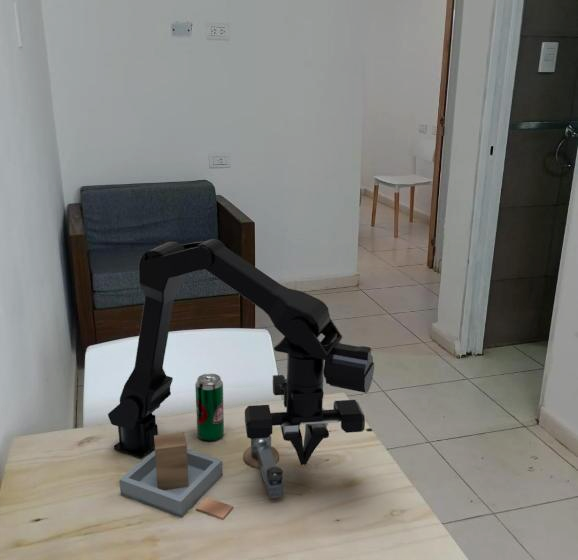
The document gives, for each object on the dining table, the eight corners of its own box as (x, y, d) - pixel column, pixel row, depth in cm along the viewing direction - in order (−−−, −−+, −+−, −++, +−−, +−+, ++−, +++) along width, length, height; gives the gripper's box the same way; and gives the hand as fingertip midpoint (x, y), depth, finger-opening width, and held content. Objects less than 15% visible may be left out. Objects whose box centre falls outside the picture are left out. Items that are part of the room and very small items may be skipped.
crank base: (192, 508, 98) (192, 505, 98) (254, 443, 115) (254, 441, 115) (226, 521, 95) (226, 518, 95) (284, 452, 113) (284, 450, 112)
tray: (120, 494, 101) (119, 479, 100) (165, 456, 111) (164, 441, 110) (181, 517, 96) (180, 501, 95) (222, 475, 106) (222, 460, 105)
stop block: (156, 476, 105) (154, 435, 102) (186, 472, 106) (184, 431, 103) (157, 491, 101) (155, 449, 98) (188, 486, 102) (186, 445, 100)
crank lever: (249, 449, 112) (249, 430, 111) (268, 447, 113) (268, 427, 112) (265, 500, 99) (265, 478, 98) (287, 497, 100) (287, 475, 99)
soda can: (219, 444, 115) (217, 386, 111) (193, 440, 116) (191, 383, 112) (227, 429, 120) (226, 373, 116) (202, 426, 121) (200, 371, 117)
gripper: (351, 353, 105) (347, 432, 110) (242, 358, 103) (242, 439, 108) (368, 384, 95) (362, 470, 100) (247, 391, 92) (247, 479, 97)
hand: (302, 463), depth 102 cm, fingers closed
